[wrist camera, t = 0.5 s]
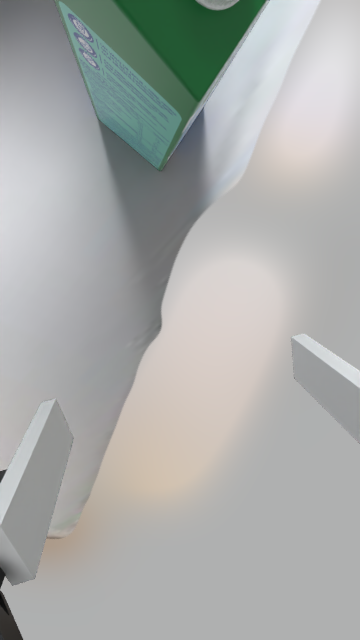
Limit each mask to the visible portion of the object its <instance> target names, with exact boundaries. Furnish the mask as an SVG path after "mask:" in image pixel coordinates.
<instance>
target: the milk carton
mask: <svg viewBox="0 0 360 640" xmlns="http://www.w3.org/2000/svg"><path fill="white" fill-rule="evenodd" d="M54 1H55V4H56V6H57V9H58V12H59V14H60V17H61V20H62V23H63V25H64V28H65V31H66V34H67V36H68V39H69V42H70V45H71V47H72V50H73V53H74V55H75V58H76V61H77V64H78V66H79V69H80V72H81V75H82V77H83V80H84V83H85V85H86V88H87V91H88V94H89V96H90V99H91V102H92V105H93V107H94V110H95V113H96V116H97V118H98V119H99V120H100V121H101V122H103V123H104V124H105V125H106V126H107V127H108V128H110V129H111V130H112V131H113V132H114V133H115V134H117V135H118V136H119V137H120V138H121V139H123V140H124V141H125V142H126V143H127V144H128V145H130V146H131V147H132V148H133V149H134V150H136V151H137V152H138V153H139V154H140V155H141V156H143V157H144V158H145V159H146V160H147V161H148V162H150V163H151V164H152V165H153V166H154V167H156V168H157V169H158V170H159V171H162V169H163V168H164V166H165V165H166V163H167V162H168V160H169V159H170V157H171V155H172V154H173V152H174V151H175V149H176V148H177V146H178V145H179V143H180V142H181V140H182V139H183V137H184V136H185V134H186V133H187V131H188V130H189V128H190V127H191V125H192V124H193V122H194V121H195V119H196V118H197V116H198V115H199V113H200V111H201V110H202V108H203V107H204V105H205V104H206V102H207V101H208V99H209V97H210V96H211V94H212V92H213V91H214V89H215V88H216V86H217V84H218V83H219V81H220V80H221V78H222V76H223V75H224V73H225V72H226V70H227V68H228V67H229V65H230V63H231V62H232V60H233V59H234V57H235V55H236V54H237V52H238V51H239V49H240V47H241V46H242V44H243V42H244V41H245V39H246V38H247V36H248V34H249V33H250V31H251V30H252V28H253V26H254V25H255V23H256V22H257V20H258V18H259V17H260V15H261V13H262V12H263V10H264V9H265V7H266V5H267V4H268V2H269V1H270V0H54Z"/></svg>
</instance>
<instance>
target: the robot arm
mask: <svg viewBox="0 0 360 640" xmlns="http://www.w3.org/2000/svg"><path fill="white" fill-rule="evenodd" d="M291 341H292V356H293V370H294V379H295V380H296V381H297V382H298V383H299V384H300V385H301V386H302V387H304V389H305V390H306V391H307V392H308V393H310V395H311V396H312V397H313V398H314V399H315V400H317V402H318V403H319V404H320V405H321V406H322V407H324V409H325V410H326V411H327V412H329V413H330V415H331V416H333V417H334V418H335V420H336V421H337V422H338V423H340V424H341V425H342V426H343V427H344V429H346V431H348V432H349V433H350V434H351V436H353V438H355V440H357V441H358V442H359V443H360V371H359V370H358V369H356V368H355V367H353V366H352V365H350V364H349V363H347V362H346V361H344V360H343V359H341V358H340V357H338V356H337V355H335V354H334V353H332V352H331V351H329V350H328V349H326V348H325V347H324V346H322V345H320V344H319V343H318V342H316V341H314V340H313V339H312V338H310V337H309V336H307V335H306V334H300V335H296V336H292V337H291ZM73 439H74V438H73V436H72V433H71V431H70V429H69V427H68V424H67V422H66V420H65V418H64V415H63V413H62V411H61V409H60V406H59V404H58V402H57V400H56V399H52V400H48V401H44V402H41V404H40V406H39V408H38V410H37V412H36V414H35V416H34V418H33V420H32V422H31V424H30V426H29V428H28V430H27V432H26V434H25V436H24V437H23V439H22V441H21V443H20V445H19V447H18V449H17V451H16V453H15V455H14V457H13V459H12V461H11V463H10V465H9V467H8V469H7V470H3V471H0V588H1V585H2V582H3V580H4V577H5V576H6V578H7V579H8V581H9V582H10V583H11V585H12V586H13V585H16V584H19V583H23V582H26V581H29V580H33V579H35V577H36V573H37V569H38V566H39V562H40V558H41V555H42V551H43V548H44V543H45V540H46V537H47V533H48V530H49V526H50V522H51V519H52V515H53V512H54V508H55V504H56V501H57V497H58V493H59V490H60V486H61V483H62V479H63V475H64V472H65V468H66V465H67V461H68V457H69V454H70V450H71V446H72V443H73ZM0 640H23V638H22V636H21V634H20V631H19V629H18V626H17V624H16V622H15V620H14V617H13V615H12V613H11V610H10V608H9V606H8V604H7V601H6V599H5V597H4V595H3V593H2V592H1V591H0Z"/></svg>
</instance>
